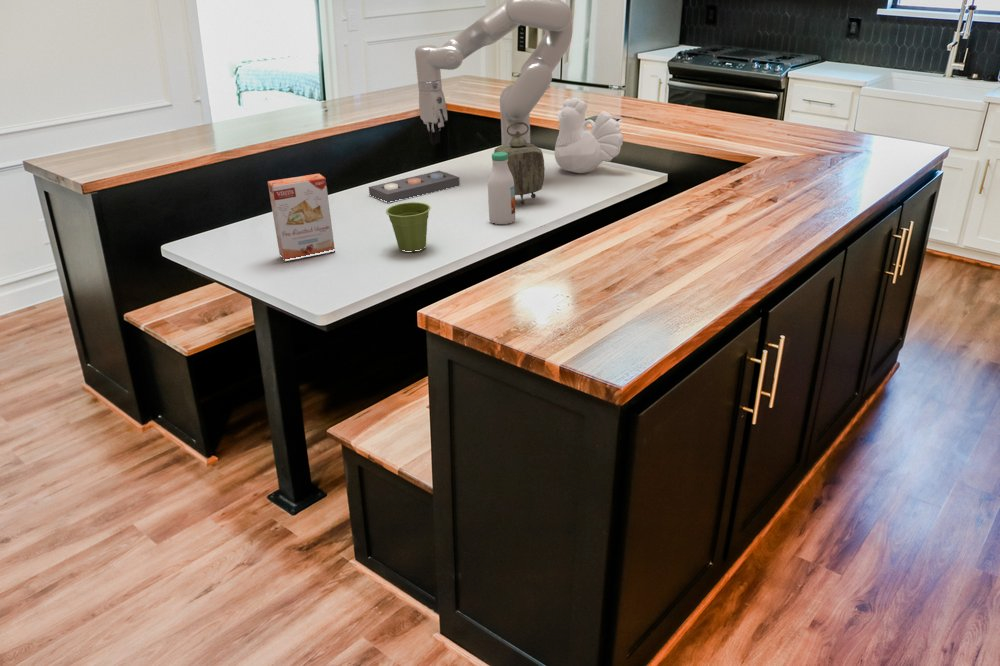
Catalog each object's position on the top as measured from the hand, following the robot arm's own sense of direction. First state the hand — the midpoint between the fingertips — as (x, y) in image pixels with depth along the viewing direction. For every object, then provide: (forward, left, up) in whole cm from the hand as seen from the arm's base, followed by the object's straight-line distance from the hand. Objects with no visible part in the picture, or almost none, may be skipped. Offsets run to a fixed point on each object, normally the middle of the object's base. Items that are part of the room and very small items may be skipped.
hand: (435, 143), depth 262 cm
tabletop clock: (-36, -7, -15) cm, 39 cm away
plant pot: (-47, +40, -15) cm, 63 cm away
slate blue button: (0, 0, -14) cm, 14 cm away
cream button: (0, +18, -14) cm, 23 cm away
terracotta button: (0, +9, -14) cm, 16 cm away
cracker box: (-31, +63, -15) cm, 72 cm away
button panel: (0, +9, -14) cm, 17 cm away
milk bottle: (-46, +8, -15) cm, 49 cm away
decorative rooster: (-25, -46, -15) cm, 54 cm away
